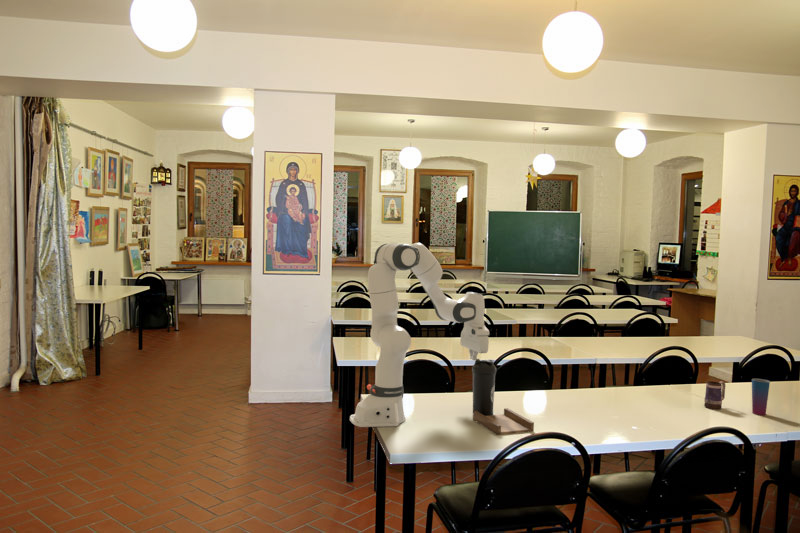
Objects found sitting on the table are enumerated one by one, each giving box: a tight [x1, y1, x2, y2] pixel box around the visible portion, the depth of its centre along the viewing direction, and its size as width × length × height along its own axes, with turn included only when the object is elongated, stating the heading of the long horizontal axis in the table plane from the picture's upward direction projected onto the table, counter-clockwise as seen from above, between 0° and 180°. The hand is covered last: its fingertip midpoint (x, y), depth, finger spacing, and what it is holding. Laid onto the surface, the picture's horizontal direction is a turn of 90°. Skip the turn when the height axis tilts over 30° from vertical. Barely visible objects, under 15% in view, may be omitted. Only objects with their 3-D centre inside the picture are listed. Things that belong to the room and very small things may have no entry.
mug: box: [704, 380, 726, 411], centre depth 263 cm, size 10×7×12 cm
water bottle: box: [471, 358, 497, 416], centre depth 244 cm, size 10×10×23 cm
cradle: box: [472, 407, 535, 436], centre depth 228 cm, size 16×20×4 cm
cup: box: [751, 378, 771, 416], centre depth 254 cm, size 7×7×15 cm
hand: (473, 359), depth 253 cm, fingers closed
